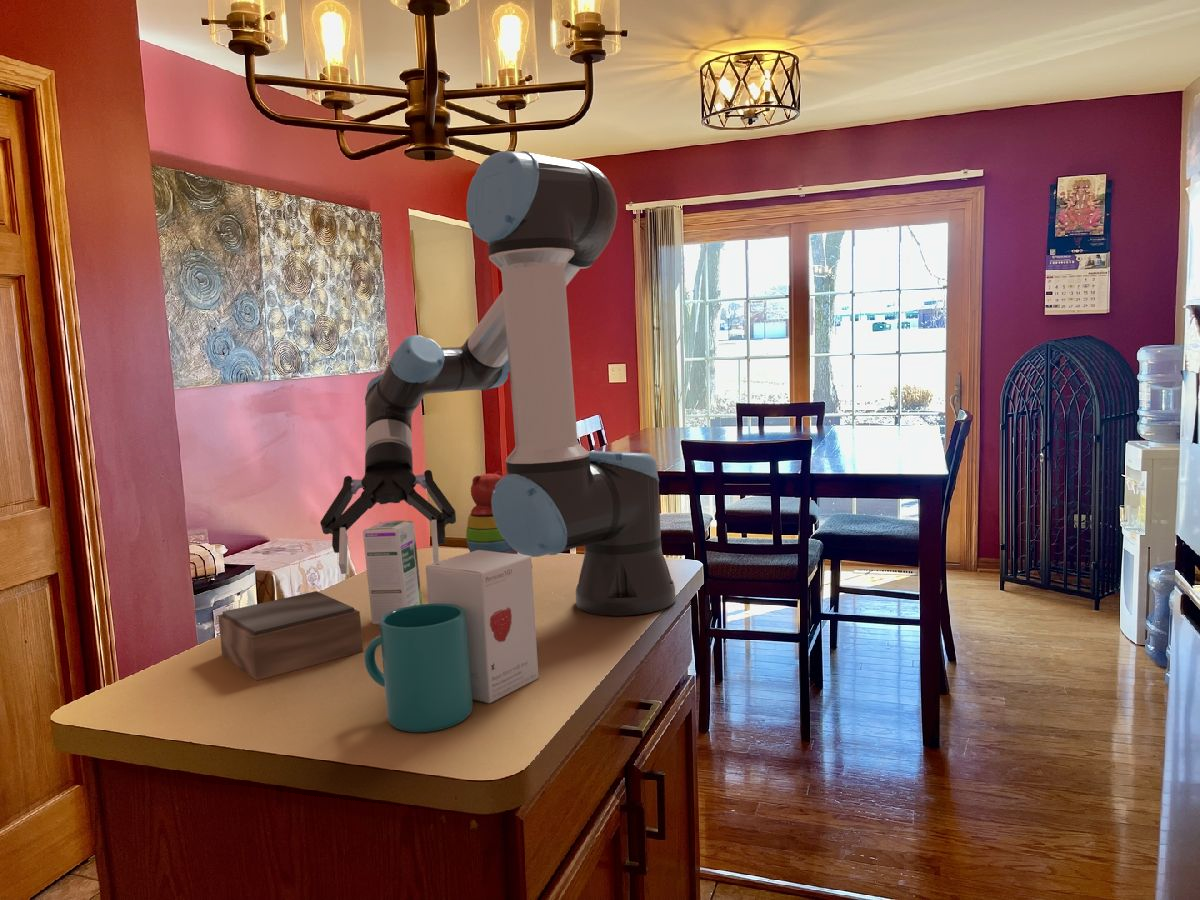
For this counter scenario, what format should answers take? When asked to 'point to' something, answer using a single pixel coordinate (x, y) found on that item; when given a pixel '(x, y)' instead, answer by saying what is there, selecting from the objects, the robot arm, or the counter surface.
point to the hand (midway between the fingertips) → (389, 565)
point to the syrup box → (391, 567)
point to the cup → (423, 666)
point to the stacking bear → (485, 517)
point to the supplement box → (492, 617)
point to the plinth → (289, 634)
